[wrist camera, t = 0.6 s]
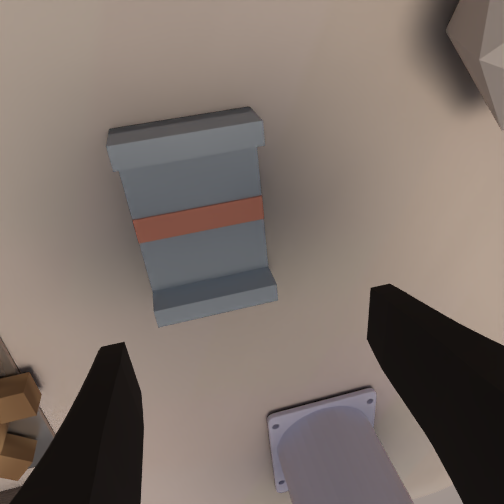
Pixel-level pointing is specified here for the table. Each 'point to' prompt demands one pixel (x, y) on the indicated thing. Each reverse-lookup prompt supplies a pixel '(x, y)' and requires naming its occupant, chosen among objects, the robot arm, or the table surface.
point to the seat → (197, 211)
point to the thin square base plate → (31, 426)
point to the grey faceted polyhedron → (482, 48)
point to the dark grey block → (8, 495)
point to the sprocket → (11, 409)
